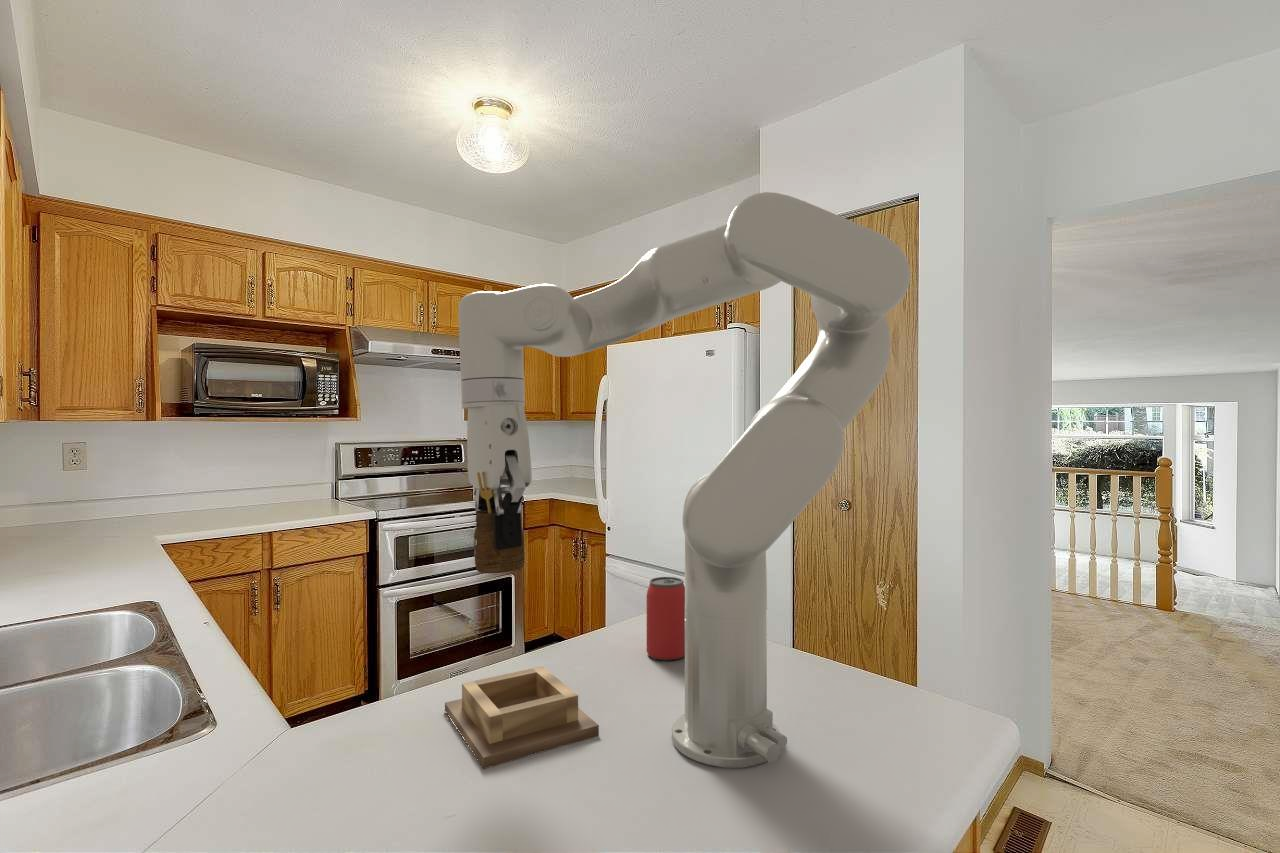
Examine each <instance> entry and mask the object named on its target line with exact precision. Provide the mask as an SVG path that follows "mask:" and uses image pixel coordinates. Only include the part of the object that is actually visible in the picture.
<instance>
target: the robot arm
mask: <svg viewBox="0 0 1280 853" xmlns="http://www.w3.org/2000/svg"><path fill="white" fill-rule="evenodd" d="M911 275H912V274H911V267H910V264H909V260H908V258H907V256H906V254H905V252H904V251H903V250H902V249H901V247H900V246H899V245H898V244H897V243H896V242H895V241H893V240H892V239H891V238H889V237H888V236H886V235H885V234H883V233H880V232H878V231H875V230H873V229H871V228H869V227H867V226H864V225H862V224H859V223H857V222H855V221H852V220H850V219H848V218H845V217H842V216H840V215H838V214H836V213H833V212H831V211H829V210H826V209H824V208H821V207H819V206H817V205H814V204H812V203H810V202H807V201H804V200H801V199H799V198H797V197H794V196H791V195H786V194H783V193H779V192H769V191H768V192H767V191H765V192H764V191H763V192H760V193H758V192H757V193H755V194H752V195H748V196H747V197H745V198H744V199H743V200H741V201H740V202H739V203H737V205H736V206H735V207H734V209H733V210H732V212H731V214H730V216H729V218H728V221H727V224H724V225H722V226H717V227H714V228H712V229H709V230H707V231H704V232H700V233H698V234H693V235H691V236H688V237H686V238H682V239H679V240H676V241H672V242H670V243H667V244H663V245H660V246H656V247H653V249H650V251H648V252H647V253H645V254H644V255H643V256H642V257H641V258H640V259H639V261H638V262H637V263H636V264H635V265H634V266H633V268H632V269H631V270H630V271H629V272H628V273H627V274H625V275H624V276H623V277H622V278H620V279H618V280H617V281H615V282H613V283H611V284H609V285H607V286H605V287H602V288H599V289H597V290H594V291H592V292H588V293H585V294H581V295H579V296H575V297H573V296H572V295H571V294H570V293H569V292H568V291H567V290H566V289H564V288H562V287H561V286H559V285H555V284H551V283H541V284H539V283H538V284H534V285H529V286H526V287H521V288H517V289H513V290H508V291H503V292H501V291H490V290H489V291H487V290H486V291H476V292H472V293H468V294H466V295H465V296H463V297H461V299H460V301H459V303H458V335H459V337H458V338H459V359H460V361H459V363H460V364H459V365H460V395H461V409H463V410H468V411H467V424H466V425H467V429H466V430H467V431H466V432H467V433H466V442H467V443H466V455H467V456H466V458H467V459H466V460H467V463H466V465H467V474H468V475H467V476H468V481H469V483H470V485H472V486H473V488H474V493H473V494H474V495H473V496H475V500H474V507H475V508H474V509H475V516H476V515H477V513H478V512H482V511H488V507H487V502H486V499H484V498H482V497H481V494H480V488H479V482H478V476H477V473H478V472H479V473H480V477H481V482H482V487H483V490H484V484H483V477H482V472H484V474H485V482H486V487H487V489H488V490H489V489H491V490H493V497H491V498H490V506H491V510H496V513H497V515H493V521H494V546H495V548H496V549H498V550H501V549H508V548H515V547H520V546H521V545H522V533H521V526H522V515H521V514H522V511H523V508H522V501H523V499H524V498H523V495H524V492H525V490H526V488H528V487H529V486H531V484H532V482H533V475H532V474H533V473H532V460H531V447H530V439H529V428H528V422H527V417H526V413H525V407H526V396H525V395H526V394H525V391H526V390H525V368H524V366H525V365H524V347H525V348H527V347H529V348H534V349H538V350H541V351H544V352H545V353H547V354H549V355H552V356H553V357H554V356H555V357H558V358H559V357H560V358H567V357H568V358H569V357H575V356H578V355H582V354H586V353H589V352H592V351H595V350H599V349H601V348H604V347H607V346H608V347H609V346H610V345H614V344H616V343H619V342H622V341H625V340H628V339H630V338H632V337H635V336H637V335H639V334H642V333H645V332H647V331H649V330H651V329H654V328H657V327H660V326H662V325H664V324H666V323H667V322H670V321H672V320H674V319H677V318H680V317H683V316H686V315H689V314H692V313H695V312H698V311H701V310H704V309H707V308H711V307H713V306H717V305H720V304H724V303H726V302H729V301H732V300H733V301H734V300H736V299H737V300H738V299H739V298H743V297H745V296H749V295H752V294H755V293H758V292H761V291H764V290H767V289H769V288H772V287H774V286H775V285H777V284H779V283H781V282H782V283H785V284H787V285H789V286H791V287H794V288H796V289H797V290H800V291H802V292H804V293H806V294H809V295H810V300H811V301H810V302H811V307H812V311H813V314H814V317H815V319H816V322H817V328H818V334H817V335H818V336H817V341H816V343H815V345H814V347H813V349H812V351H811V352H810V353H809V354H808V356H807V357H806V358H805V359H804V360H803V361H802V363H801V364H800V365H799V367H798V368H797V369H796V371H795V372H794V374H792V376H791V377H790V378H789V379H788V381H787V382H786V383H785V384H784V385H783V386H782V387H781V389H779V390H778V392H777V393H776V394H775V395H774V396H773V397H772V398H771V399H770V400H769V402H767V404H765V405H764V406H762V407H761V408H760V409H759V410H758V411H757V412H755V415H754V416H753V417H752V418H751V420H750V422H749V424H748V426H747V428H746V430H745V431H744V433H743V434H742V435H741V436H740V437H739V438H738V440H736V442H735V443H734V444H733V445H732V446H731V447H730V449H729V450H728V451H727V452H726V453H725V455H724V456H723V457H722V459H720V460H719V462H718V463H717V464H716V465H715V467H713V469H712V470H711V471H710V472H708V473H705V474H704V475H702V476H701V477H700V478H699V479H697V480H696V481H695V482H694V483H693V484H692V486H691V487H690V489H689V490H688V493H687V495H686V497H685V500H684V503H683V511H682V529H683V533H684V586H685V656H684V713H683V714H682V715H680V716H679V717H678V718H677V719H676V720H675V721H674V722H673V724H672V727H671V740H672V744H673V745H674V746H675V749H677V750H678V751H679V752H680V753H681V754H683V755H684V756H686V757H687V758H689V759H692V760H693V761H695V762H699V763H701V764H705V765H707V766H714V767H719V768H720V767H721V768H731V769H732V768H745V767H746V768H747V767H752V766H757V765H760V764H763V763H766V762H769V763H770V764H772V763H775V762H776V761H777V760H778V759H779V756H780V754H781V750H782V749H785V747H787V744H788V737H787V736H786V735H784V734H783V733H781V732H780V730H779V728H778V727H777V726H776V725H775V724H774V722H773V719H774V718H773V714H774V713H773V711H771V710H770V709H768V708H767V707H768V704H767V702H768V700H767V699H768V698H767V696H768V694H767V688H768V684H767V683H768V682H767V678H768V677H767V675H768V674H767V671H768V670H767V664H768V662H767V661H768V660H767V659H768V658H767V656H768V655H767V646H768V645H767V610H768V595H767V594H768V591H767V590H768V589H767V588H768V587H767V586H768V585H767V584H768V582H767V579H768V578H767V555H766V553H767V551H768V550H769V549H770V548H771V546H773V544H774V543H775V542H776V541H778V540H779V538H780V537H781V536H782V535H783V533H784V532H785V531H787V529H788V528H789V527H790V526H791V524H792V523H793V522H794V521H795V520H796V518H798V517H799V515H800V514H801V513H802V512H803V510H805V508H806V507H807V506H808V505H809V504H810V503H811V502H812V500H813V499H814V498H815V497H816V496H817V495H818V493H819V492H820V491H821V490H822V488H823V487H825V485H826V484H827V483H828V481H829V480H830V479H831V477H832V476H833V475H834V473H835V471H836V469H838V468H837V467H838V466H839V463H840V462H841V459H842V456H843V452H844V445H845V440H844V439H845V438H844V437H845V436H844V431H845V430H846V429H847V428H848V426H849V425H850V424H851V423H852V422H853V420H854V419H855V417H856V416H857V415H858V414H859V412H860V411H861V410H862V408H863V407H865V405H866V403H867V402H868V401H869V400H870V398H871V397H872V396H873V395H874V394H875V393H876V390H877V389H878V388H879V386H880V385H881V382H882V381H883V379H884V377H885V374H886V373H887V369H888V366H889V362H890V358H891V357H890V356H891V330H890V326H889V322H888V318H887V314H889V313H890V312H891V311H893V310H894V309H895V308H896V307H897V306H898V305H899V304H900V303H901V302H902V300H903V299H904V298H905V296H906V294H907V292H908V290H909V286H910V282H911ZM508 483H509V484H508ZM500 485H501V487H500ZM508 486H509V487H508ZM503 495H504V496H503ZM475 524H476V527H475V528H477V527H478V526H479V525H478V524H477V523H476V522H475Z"/></svg>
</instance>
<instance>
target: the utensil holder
mask: <svg viewBox="0 0 1280 853" xmlns="http://www.w3.org/2000/svg"><path fill="white" fill-rule="evenodd" d="M477 476H478V482H479V488H480V494H481V497H482V498H484V499H486V502H487V507H488V511H482V512H478V513H477V515H476V514H475V524H476V523H477V524H478V525H479V526H478V527H475V529H474V534H473V551H474V552H473V554H474V565H475V570H476V571H477V572H478V573H482V574H502V573H503V574H504V573H509V572H514V571H518V570H520V569H523V567H524V566H525V539H524V531H523V526H522V525H521V533H522V545H521V546H520V547H515V548H508V549H501V550H498V549H496V548H495V546H494V521H493V515H497V513H496V510H491V506H490V498H491V497H493V490H491V489H489V490H488V489H487V487H486V482H485V474H484V472H482V477H483V484H484V490H483V487H482V482H481V477H480V473H479V472H478V473H477ZM508 484H509V483H508ZM500 487H502V485H500ZM507 487H510V486H507Z"/></svg>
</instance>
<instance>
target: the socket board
mask: <svg viewBox="0 0 1280 853" xmlns="http://www.w3.org/2000/svg"><path fill="white" fill-rule="evenodd" d="M445 711H446V712H447V714H448V715H449V716H450V718H451V719H452V721H453V722H454V724H455V725H456V727H457V728H458V730H459V731H460V733H461V734H462V736H463V737H464V739H465V741H466V742H467V744H468V745H469V747H470V748H471V750H472V751H473V753H474V754H475V756H476V757H475V756H474V757H475V758H476V760H477V759H478V760H477V762H478V763H479V762H480V763H479V765H480V766H481V768H484V769H487V768H490V766H491V767H493V766H497V765H500V763H501V764H505V763H509V762H512V761H514V760H518V759H521V758H525V756H526V757H529V756H532V754H533V755H536V754H539V753H543V752H546V751H549V749H550V750H553V749H556V748H559V747H564V746H567V745H570V744H573V743H576V742H580V741H584V740H587V739H590V738H594V737H598V736H599V735H600V733H599V732H600V730H599V729H600V725H599V724H598V723H597V722H596V721H594V719H592V718H591V717H590V716H589V715H588V714H586V713H585V712H584V711H583V710H582V709H580V708H579V694H577V693H576V692H575V691H574V690H572V688H570V687H569V686H568V685H566V683H564V682H562V680H560V679H559V678H558V677H556V676H555V675H554V674H553V673H551V672H550V671H549V670H548V669H547V668H546V667H544V666H538V667H533V668H529V669H523V670H519V671H514V672H510V673H504V674H500V675H497V676H491V677H486V678H485V677H484V678H481V679H478V680H472V681H471V680H470V681H468V682H467V681H466V682H462V683H461V698H459V699H455V700H454V699H453V700H451V701H447V702H446V701H445V702H444V712H445ZM447 714H446V715H447ZM458 730H457V731H458ZM460 733H459V734H460ZM462 736H461V737H462ZM464 739H463V740H464ZM465 741H464V742H465ZM466 742H465V743H466ZM467 744H466V745H467ZM468 745H467V746H468ZM469 747H468V748H469ZM470 748H469V749H470ZM471 750H470V751H471ZM545 750H546V751H545ZM472 751H471V752H472ZM542 751H543V752H542ZM473 753H472V754H473ZM535 753H536V754H535ZM474 754H473V755H474ZM528 755H529V756H528ZM511 760H512V761H511Z"/></svg>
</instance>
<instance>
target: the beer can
mask: <svg viewBox="0 0 1280 853" xmlns="http://www.w3.org/2000/svg"><path fill="white" fill-rule="evenodd" d="M646 653H647V654H648V656H649V657H651V658H652V659H654V660H658V661H665V662H666V661H676V660H677V661H678V660H680V659H682V658H685V580H683V579H682V578H679V577H676V576H675V577H673V576H659V577H654V578H651V579H650V580H649V584H648V587H647V591H646Z"/></svg>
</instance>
